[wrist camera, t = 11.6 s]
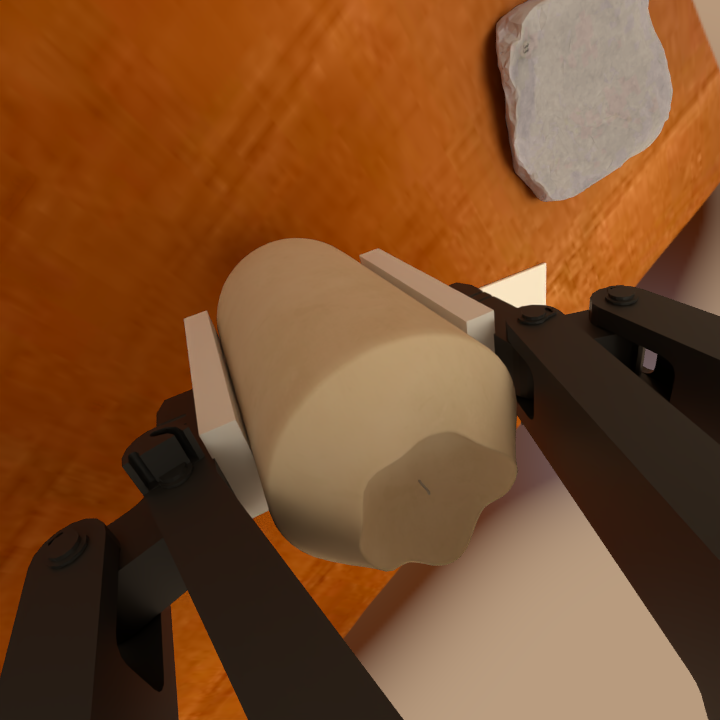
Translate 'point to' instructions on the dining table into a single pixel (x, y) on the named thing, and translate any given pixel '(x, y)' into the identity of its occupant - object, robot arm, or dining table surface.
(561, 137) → the stone block
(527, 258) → the dining table surface
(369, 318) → the candle
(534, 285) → the test strip
